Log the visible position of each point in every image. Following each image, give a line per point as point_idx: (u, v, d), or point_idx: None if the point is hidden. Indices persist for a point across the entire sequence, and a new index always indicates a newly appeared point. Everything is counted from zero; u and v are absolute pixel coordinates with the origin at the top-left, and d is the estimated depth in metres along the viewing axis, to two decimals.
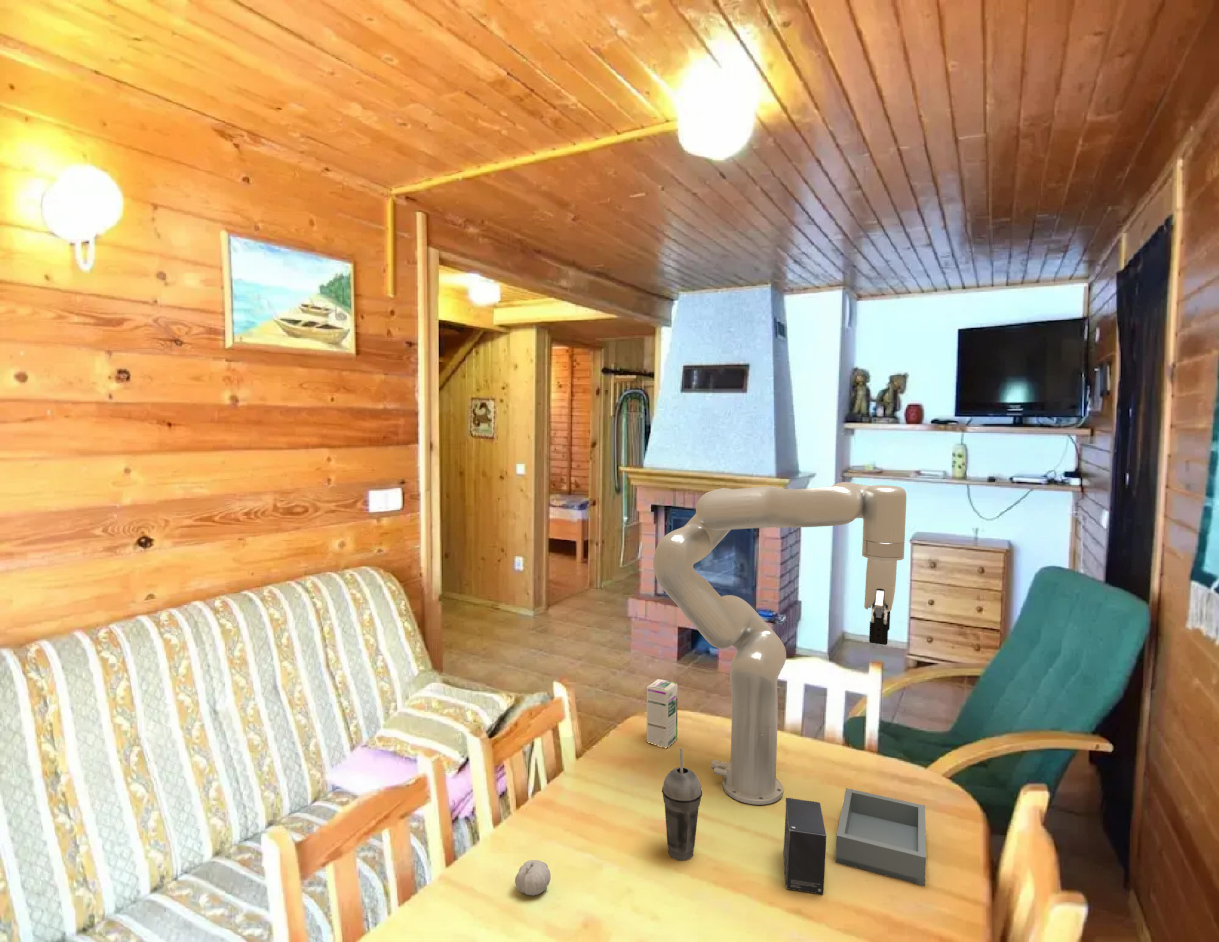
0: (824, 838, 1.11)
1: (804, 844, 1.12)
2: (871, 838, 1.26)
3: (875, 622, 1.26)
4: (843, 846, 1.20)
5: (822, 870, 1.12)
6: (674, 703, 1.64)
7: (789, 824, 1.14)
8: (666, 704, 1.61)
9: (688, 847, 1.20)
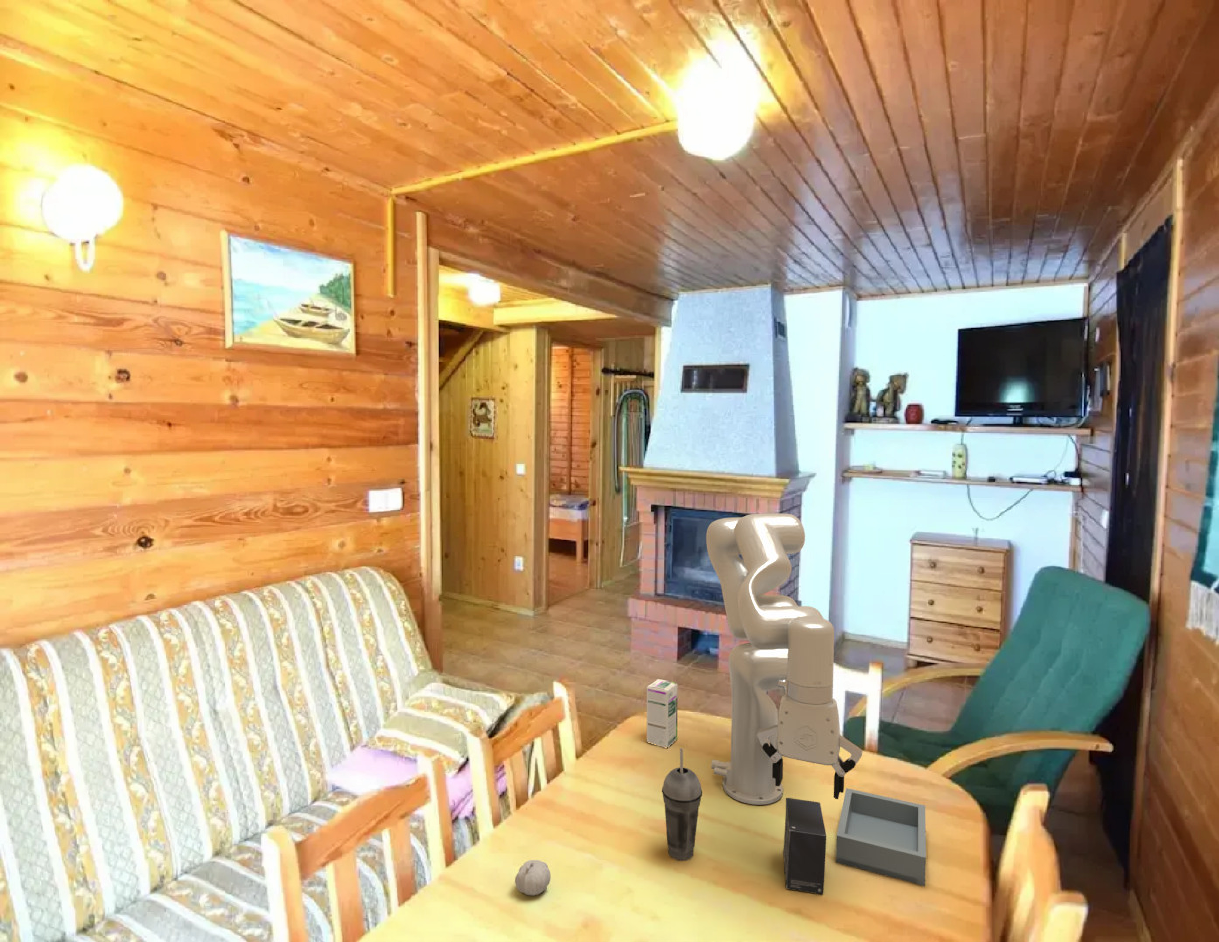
0: (824, 838, 1.11)
1: (804, 844, 1.12)
2: (871, 838, 1.26)
3: None
4: (843, 846, 1.20)
5: (822, 870, 1.12)
6: (674, 703, 1.64)
7: (789, 824, 1.14)
8: (666, 704, 1.61)
9: (688, 847, 1.20)
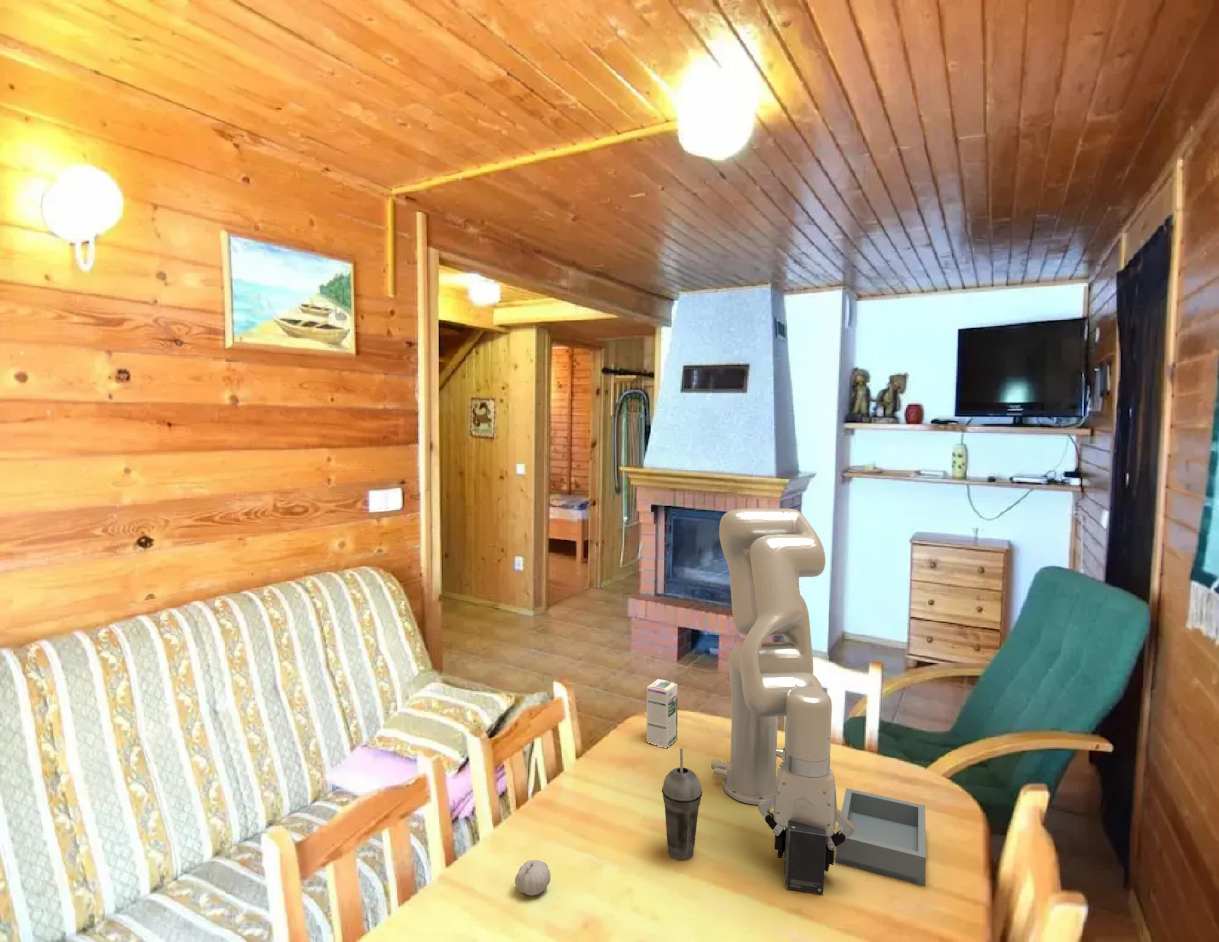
0: (824, 838, 1.11)
1: (804, 843, 1.12)
2: (871, 838, 1.26)
3: None
4: (843, 846, 1.20)
5: (822, 870, 1.12)
6: (674, 703, 1.64)
7: (789, 824, 1.14)
8: (666, 704, 1.61)
9: (688, 847, 1.20)
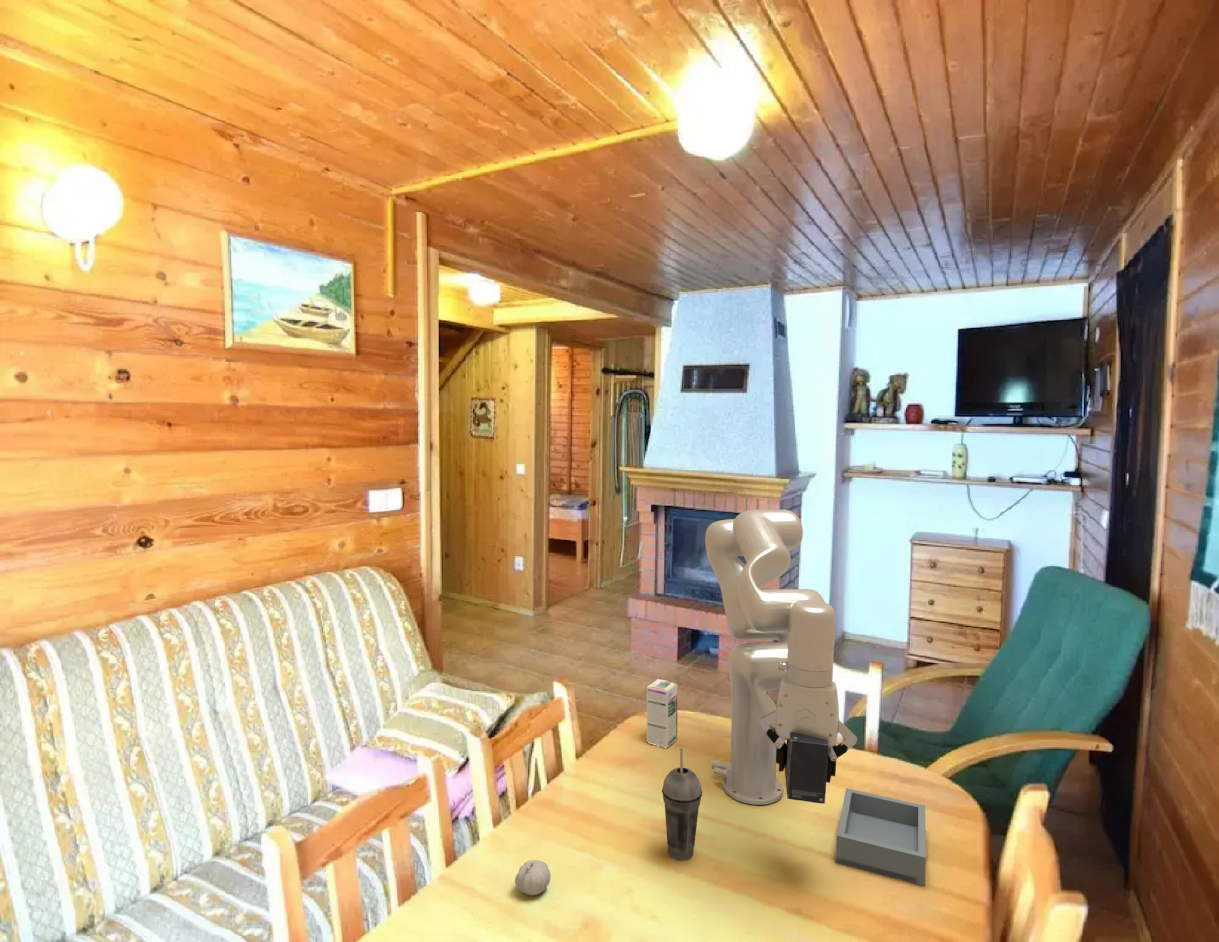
0: (826, 748, 1.11)
1: (806, 754, 1.11)
2: (871, 838, 1.26)
3: None
4: (843, 846, 1.20)
5: (824, 780, 1.11)
6: (674, 703, 1.64)
7: (791, 735, 1.13)
8: (666, 704, 1.61)
9: (688, 847, 1.20)
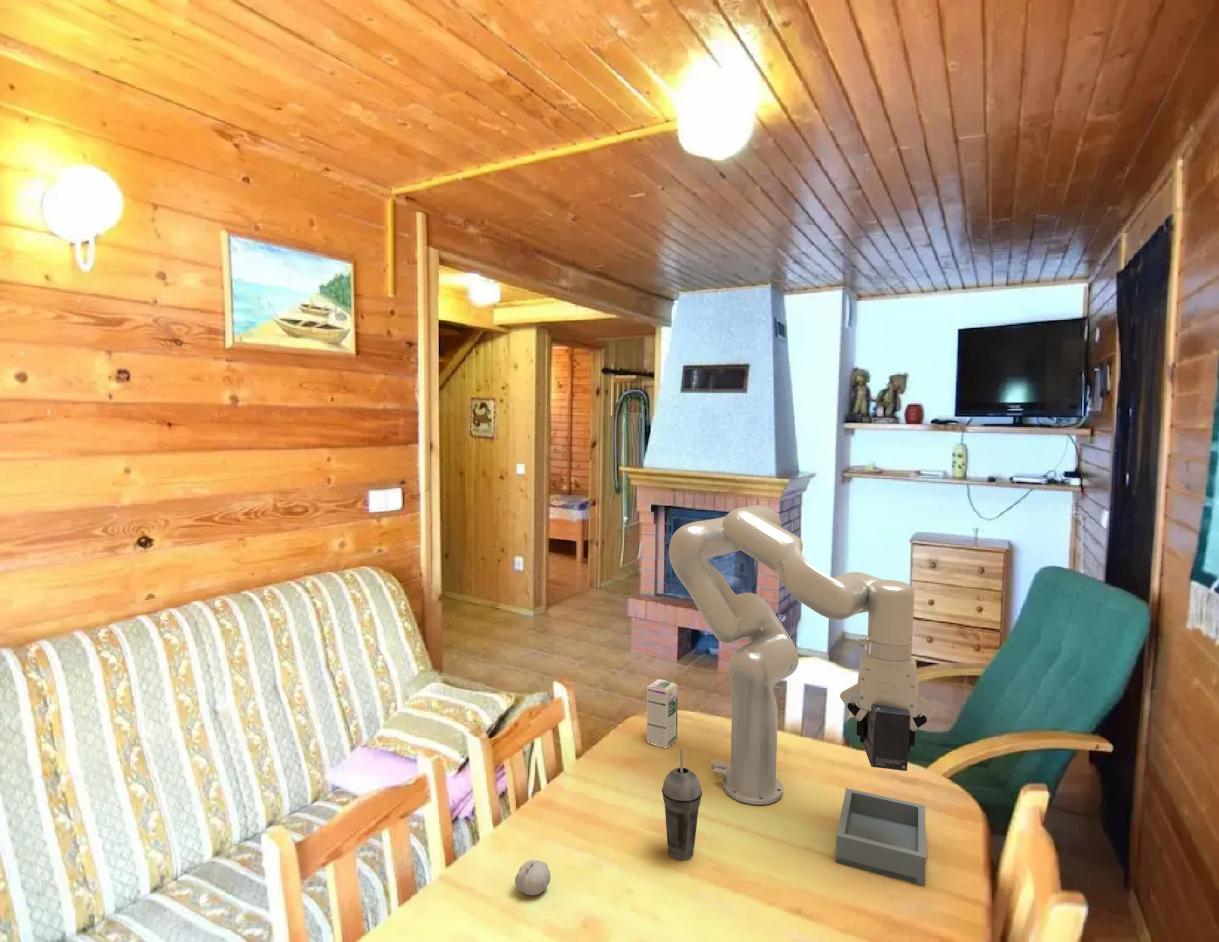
0: (908, 717, 1.18)
1: (889, 723, 1.19)
2: (871, 838, 1.26)
3: None
4: (843, 846, 1.20)
5: (906, 748, 1.18)
6: (674, 703, 1.64)
7: (873, 707, 1.21)
8: (666, 704, 1.61)
9: (688, 847, 1.20)
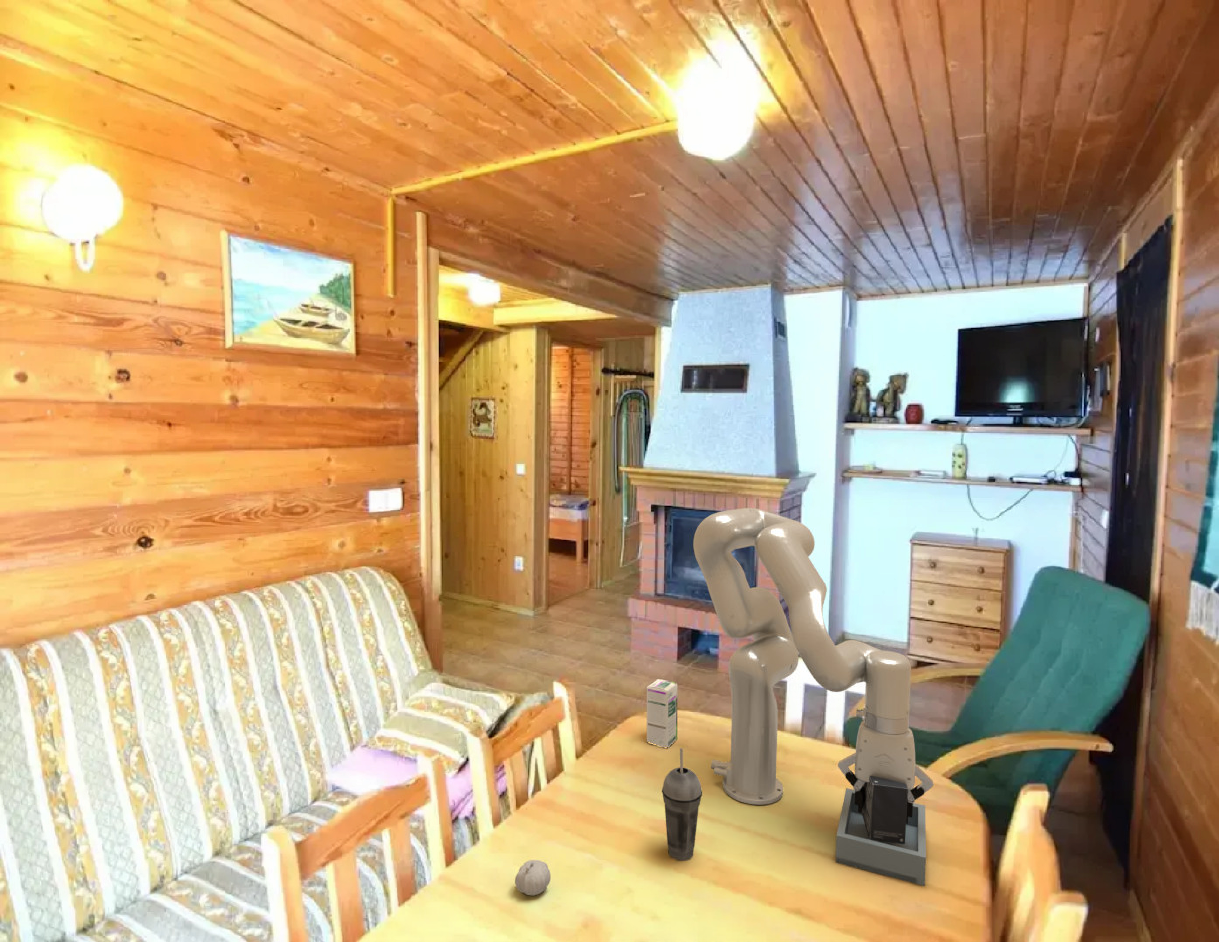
0: (906, 791, 1.19)
1: (886, 796, 1.19)
2: None
3: None
4: (843, 846, 1.20)
5: (904, 821, 1.19)
6: (674, 703, 1.64)
7: (871, 779, 1.21)
8: (666, 704, 1.61)
9: (688, 847, 1.20)
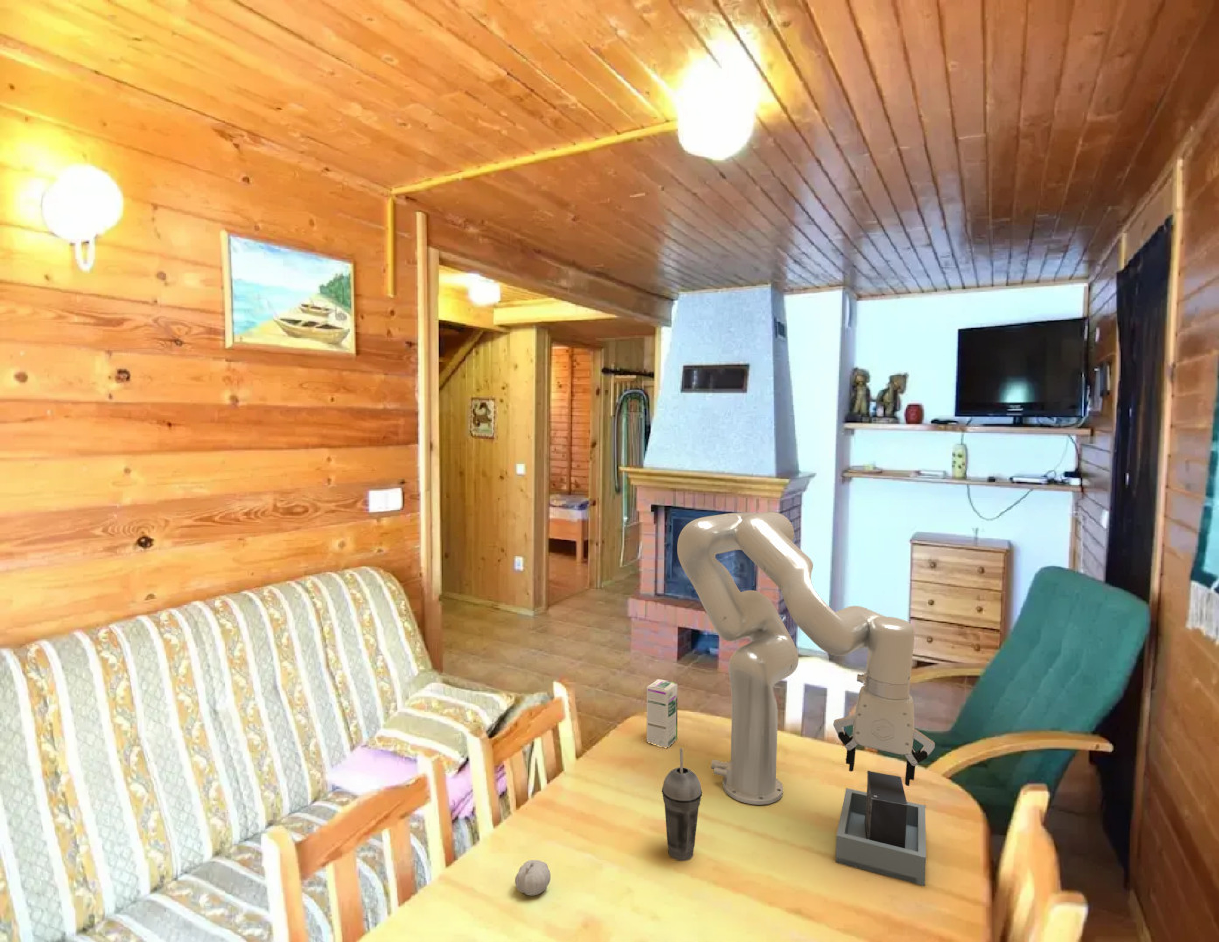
0: (905, 807, 1.19)
1: (885, 812, 1.20)
2: None
3: None
4: (843, 846, 1.20)
5: (903, 837, 1.19)
6: (674, 703, 1.64)
7: (871, 793, 1.22)
8: (666, 704, 1.61)
9: (688, 847, 1.20)
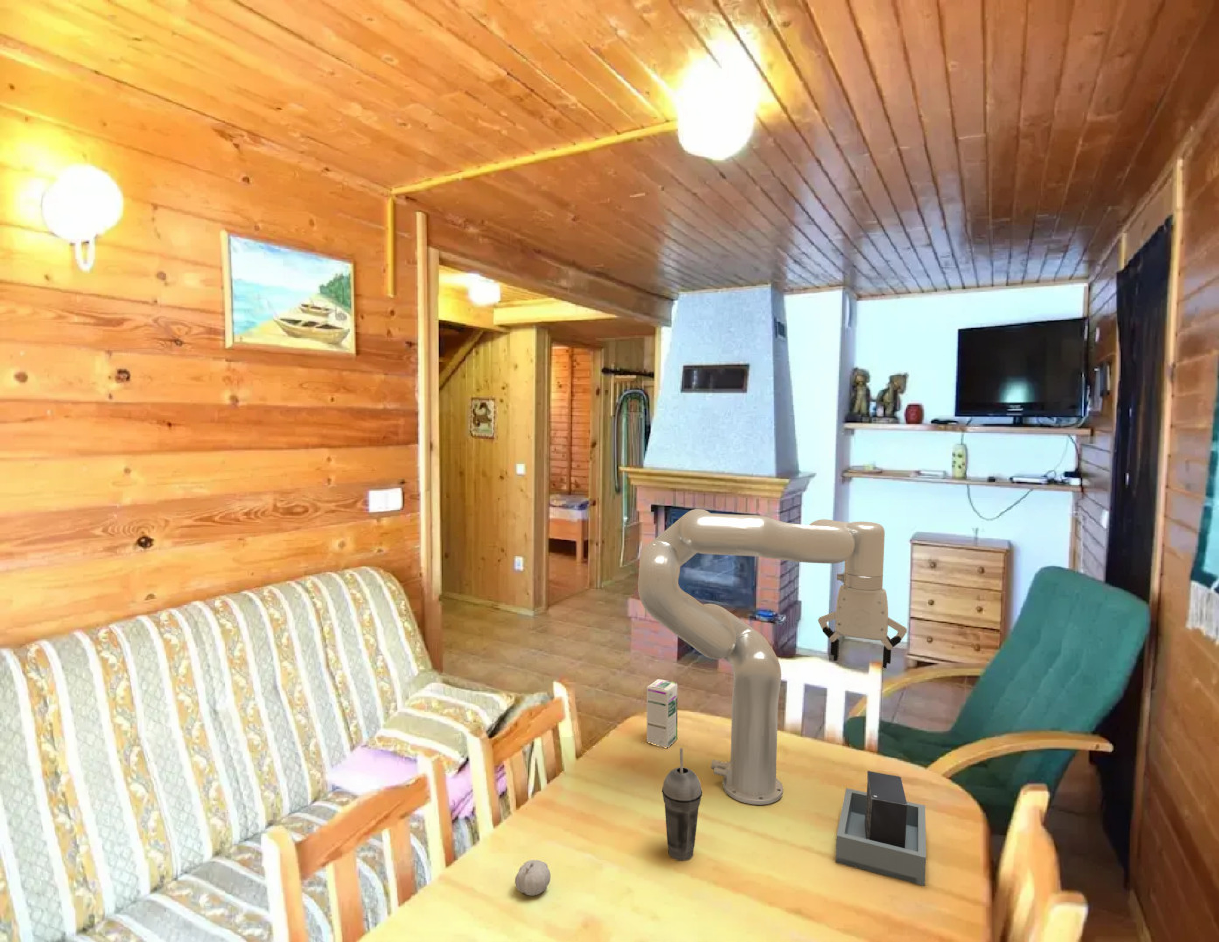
0: (905, 807, 1.19)
1: (885, 812, 1.20)
2: None
3: None
4: (843, 846, 1.20)
5: (903, 837, 1.19)
6: (674, 703, 1.64)
7: (871, 793, 1.22)
8: (666, 704, 1.61)
9: (688, 847, 1.20)
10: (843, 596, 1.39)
